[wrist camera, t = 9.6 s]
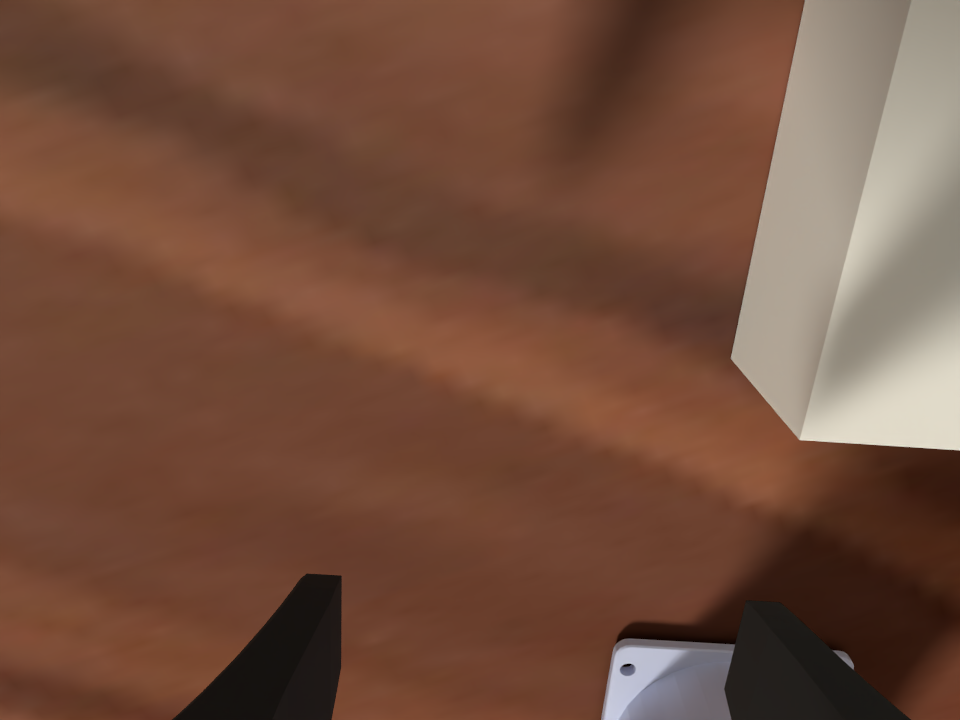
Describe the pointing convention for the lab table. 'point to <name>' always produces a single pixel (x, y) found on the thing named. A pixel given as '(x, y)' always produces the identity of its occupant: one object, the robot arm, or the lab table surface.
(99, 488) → the lab table surface
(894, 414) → the hole board
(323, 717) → the robot arm
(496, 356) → the lab table surface
